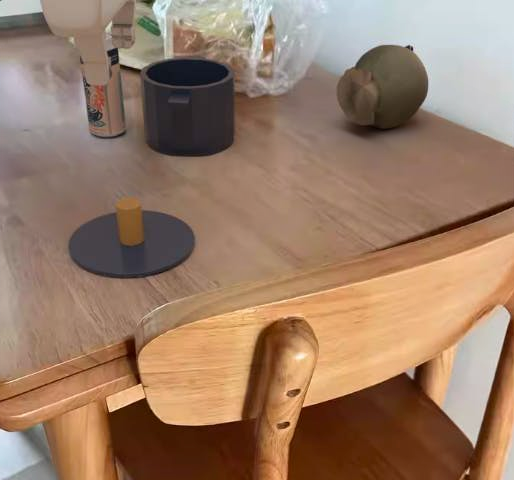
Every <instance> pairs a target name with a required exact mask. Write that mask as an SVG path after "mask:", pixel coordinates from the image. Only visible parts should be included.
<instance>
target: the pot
mask: <svg viewBox="0 0 514 480" xmlns="http://www.w3.org/2000/svg"><path fill="white" fill-rule="evenodd" d="M235 75H236V73H235V69H234V68H232V66H230V65H229V64H227V63H224V62H222V61H219V60H215V59H210V58H206V57H205V56H186V57H184V56H183V57H173V58H166V59H161V60H158V61H154V62H151V63H149V64H148V65H145V66H144V67H142V69H141V71H140V73H139V80H140V93H141V94H140V95H141V104H142V116H143V127H144V129H143V130H144V138H145V141H146V145H148V146H149V147H150V148H151V149H152V150H154V151H156V152H157V153H160V154H163V155H167V156H173V157H183V158H184V157H185V158H194V157H195V158H196V157H204V156H210V155H211V156H212V155H214V154H215V155H216V154H218V153H221V152H223V151H225V150H227V149H229V148H230V147H231V146H232V145H233V143H234V141H235V134H236V96H235V94H236V93H235V92H236V82H235V81H236V79H235V77H236V76H235Z"/></svg>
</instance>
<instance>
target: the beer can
mask: <svg viewBox="0 0 514 480" xmlns="http://www.w3.org/2000/svg"><path fill="white" fill-rule="evenodd" d="M105 44H106V50H107V55H108V57H110V58H111V69H112V77H111V79H110V80H109V82H108V84H107V85H104V86H99V85H90V84H88V83H87V81H86V78H85V71H84V64H83V61H82V59H81V57H80V56H79V62H80V70H81V76H82V77H81V78H82V83H83V90H84V91H83V93H84V98H85V107H86V114H87V121H88V122H87V123H88V130H89V132H90V133H91V134H93V135H95V136H97V137H99V138H114V137H118V136H120V135H122V133H124V132H125V131H126V130H127V125H126V124H127V123H126V114H125V104H124V103H125V102H124V95H123V94H124V93H123V84H122V73H121V63H120V54H119V48H115V47H114V46H113V44H112V35H111V32H106V39H105Z"/></svg>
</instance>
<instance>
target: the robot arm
mask: <svg viewBox="0 0 514 480" xmlns="http://www.w3.org/2000/svg"><path fill="white" fill-rule="evenodd" d="M39 2H40V6H41V10H42V14H43V16H44V19H45V21H46V23H47V26H48V28H49V29H50V31H51V32H52V33H53V35H54V36H57V37H64V38H73V43H74V45H75V47H76V50H77V52H78V54H79V58H80V57H81V59H82V61H83V64H84V71H85V78H86V81H87V83H88V84H90V85H99V86H104V85H107V84H108V82H109V80H110V79H111V77H112V69H111V58H110V57H108V55H107V50H106V44H105V39H106V33H107V31H106V28H107V27H108V26H109V25H110V24H112V25H110V34H111V35H112V44H113V46H114V47H115V48H118V50H119V49H128V50H129V49H131V48H132V47H133V46H134V44H135V43H136V38H137V37H136V28H135V20H136V7H137V0H39Z"/></svg>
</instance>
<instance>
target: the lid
mask: <svg viewBox="0 0 514 480" xmlns="http://www.w3.org/2000/svg"><path fill="white" fill-rule="evenodd" d="M115 210H116V211H115V212H110V213H106V214H103V215H100V216H97V217H94V218H92V219H90V220H88V221H86V222H85V223H83V224H82V225H80V226H79V227H77V229H75V230H74V232H73V233H72V234H71V235H70V237H69V240H68V246H67V247H68V254H69V256H70V258H71V259H72V261H73V263H75V265H77V266H78V267H79V268H81V269H82V270H84V271H86V272H88V273H90V274H94V273H95V275H97V274H98V275H97V276H101V275H105V276H104V277H106V276H111V277H110V278H113V277H124V278H123V279H126V278H125V277H138V278H140V277H139V276H145V277H147V276H146V275H150V274H155V273H158V274H160V273H159V272H162V273H164V272H163V271H165V270H167V269H170V270H172V269H173V268H172V267H174V266H176V267H177V265H178V264H179V265H181V264H182V263H184V262H185V261H186V260H187V259H188V258H189V257H190V256H191V255H192V253H193V251H194V249H195V246H196V238H195V237H196V236H195V234H194V231H193V229H192V228H191V226H190V225H188V223H186V222H185V221H184V220H182V219H180V218H179V217H177V216H174V215H172V214H168V213H164V212H160V211H155V210H144V209H142V202H141V201H140V199H138V198H135V197H124V198H120V199H119V200H117V201H116V202H115ZM181 262H182V263H181ZM180 263H181V264H180ZM179 265H178V266H179ZM171 268H172V269H171ZM174 268H175V267H174ZM167 271H168V270H167ZM165 272H166V271H165ZM155 275H156V274H155ZM150 276H151V275H150Z"/></svg>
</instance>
